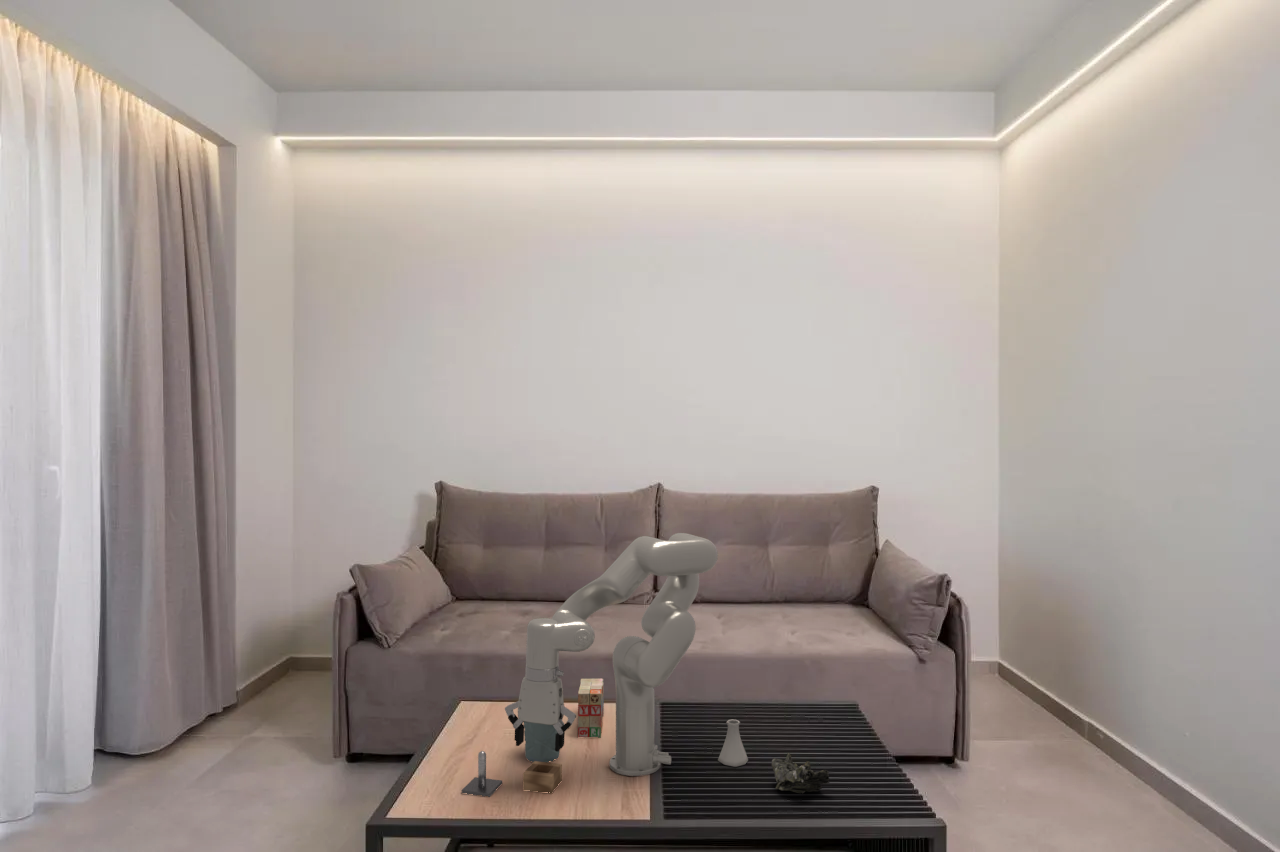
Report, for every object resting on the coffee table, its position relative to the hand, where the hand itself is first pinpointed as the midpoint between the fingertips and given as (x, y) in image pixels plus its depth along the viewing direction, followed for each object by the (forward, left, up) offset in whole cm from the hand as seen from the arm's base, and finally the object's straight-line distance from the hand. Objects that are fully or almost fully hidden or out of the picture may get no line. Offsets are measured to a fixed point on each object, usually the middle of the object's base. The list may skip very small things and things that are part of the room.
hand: (539, 746), depth 195 cm
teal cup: (+5, -17, -10) cm, 20 cm away
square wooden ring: (-1, -1, -9) cm, 9 cm away
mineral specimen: (-59, -15, -10) cm, 61 cm away
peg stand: (+12, +4, -9) cm, 16 cm away
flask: (-42, -26, -10) cm, 50 cm away
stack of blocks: (0, -41, -10) cm, 42 cm away
